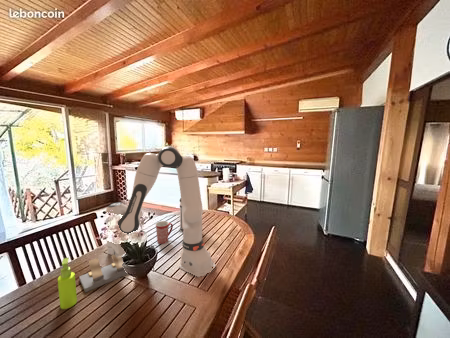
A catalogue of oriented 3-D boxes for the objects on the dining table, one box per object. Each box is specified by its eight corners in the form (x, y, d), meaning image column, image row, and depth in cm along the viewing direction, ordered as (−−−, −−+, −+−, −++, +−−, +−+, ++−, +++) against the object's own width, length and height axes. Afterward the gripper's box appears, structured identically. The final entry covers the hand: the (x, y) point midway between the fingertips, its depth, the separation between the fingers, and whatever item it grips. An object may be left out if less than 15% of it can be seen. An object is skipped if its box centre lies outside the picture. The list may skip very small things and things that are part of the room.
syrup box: (115, 255, 126) (114, 233, 124) (107, 254, 127) (106, 232, 125) (121, 250, 131) (120, 229, 129) (113, 249, 132) (112, 228, 130)
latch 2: (126, 268, 109) (126, 266, 109) (117, 272, 106) (117, 270, 106) (119, 253, 115) (119, 252, 115) (111, 256, 112) (111, 255, 112)
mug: (159, 245, 138) (159, 227, 136) (153, 241, 145) (153, 223, 143) (175, 240, 147) (175, 222, 145) (169, 235, 153) (169, 218, 151)
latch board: (134, 270, 112) (134, 266, 111) (85, 292, 95) (84, 287, 95) (126, 261, 120) (125, 257, 120) (79, 279, 103) (79, 274, 103)
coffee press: (201, 229, 166) (201, 193, 161) (183, 234, 155) (183, 197, 151) (190, 222, 179) (190, 189, 174) (173, 226, 169) (173, 192, 164)
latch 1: (103, 278, 102) (103, 277, 101) (93, 282, 99) (93, 281, 98) (97, 258, 106) (98, 257, 106) (88, 262, 103) (88, 260, 102)
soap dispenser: (77, 295, 94) (74, 255, 91) (76, 305, 88) (72, 263, 85) (61, 300, 91) (57, 258, 88) (59, 311, 85) (54, 267, 82)
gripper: (128, 237, 105) (129, 261, 107) (115, 224, 119) (116, 246, 121) (115, 241, 101) (116, 266, 103) (103, 227, 115) (104, 250, 117)
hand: (116, 255), depth 112 cm, fingers closed
